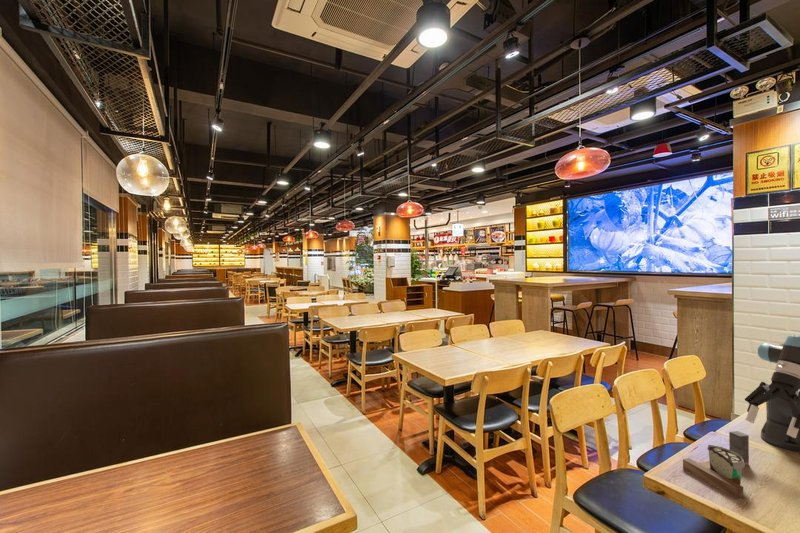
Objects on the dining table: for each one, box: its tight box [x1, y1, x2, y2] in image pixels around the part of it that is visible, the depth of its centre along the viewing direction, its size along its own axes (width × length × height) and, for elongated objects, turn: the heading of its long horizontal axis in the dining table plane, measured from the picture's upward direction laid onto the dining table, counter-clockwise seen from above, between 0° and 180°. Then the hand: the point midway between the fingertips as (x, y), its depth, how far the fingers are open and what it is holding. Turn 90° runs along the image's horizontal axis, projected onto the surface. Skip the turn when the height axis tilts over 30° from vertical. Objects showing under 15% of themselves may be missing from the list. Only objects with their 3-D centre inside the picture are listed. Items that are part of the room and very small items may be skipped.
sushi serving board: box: [682, 430, 750, 500], centre depth 123 cm, size 26×17×11 cm, turn 102°
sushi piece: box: [706, 444, 746, 486], centre depth 120 cm, size 12×6×10 cm, turn 171°
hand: (769, 428), depth 128 cm, fingers open, 13 cm apart
